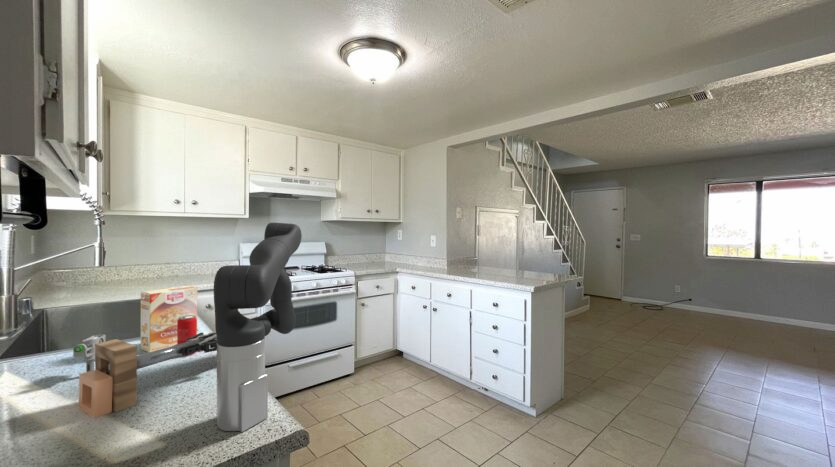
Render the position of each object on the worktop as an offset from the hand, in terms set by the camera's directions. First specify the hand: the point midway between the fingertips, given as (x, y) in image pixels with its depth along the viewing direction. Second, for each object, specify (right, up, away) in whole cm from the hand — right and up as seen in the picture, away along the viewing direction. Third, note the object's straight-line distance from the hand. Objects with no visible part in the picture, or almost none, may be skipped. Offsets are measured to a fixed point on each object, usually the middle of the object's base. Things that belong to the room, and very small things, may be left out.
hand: (178, 350), depth 93 cm
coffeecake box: (-22, -8, +27) cm, 36 cm away
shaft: (-2, -2, -4) cm, 5 cm away
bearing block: (-6, -8, -12) cm, 16 cm away
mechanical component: (-26, -8, +2) cm, 27 cm away
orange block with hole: (-8, -8, -15) cm, 19 cm away
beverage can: (-10, -8, +19) cm, 23 cm away
